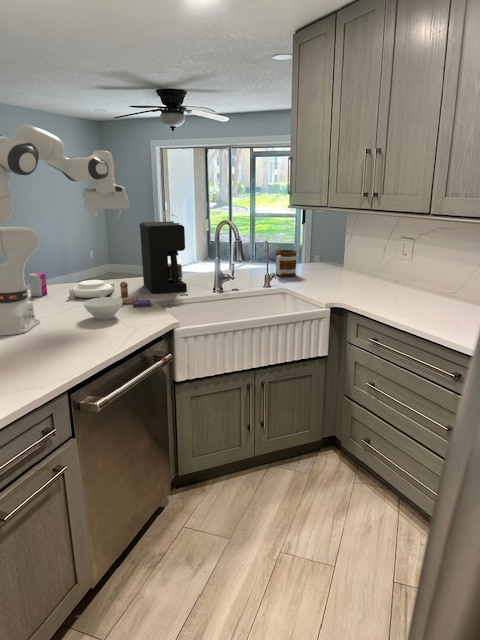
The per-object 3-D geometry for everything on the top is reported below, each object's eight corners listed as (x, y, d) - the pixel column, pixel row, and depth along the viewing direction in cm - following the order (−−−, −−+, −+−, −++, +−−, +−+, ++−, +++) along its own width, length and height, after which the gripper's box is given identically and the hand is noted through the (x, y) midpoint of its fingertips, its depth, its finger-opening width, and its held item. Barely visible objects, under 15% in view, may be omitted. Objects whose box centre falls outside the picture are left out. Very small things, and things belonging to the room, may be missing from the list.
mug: (280, 272, 293) (280, 249, 288) (300, 274, 286) (300, 250, 282) (266, 278, 276) (267, 253, 272) (287, 280, 270) (288, 254, 266)
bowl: (84, 314, 200) (82, 299, 198) (121, 311, 206) (120, 295, 204) (86, 324, 186) (84, 307, 184) (126, 320, 191) (124, 304, 189)
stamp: (130, 300, 220) (128, 282, 217) (119, 301, 219) (117, 282, 216) (130, 298, 224) (129, 280, 222) (119, 299, 223) (118, 280, 221)
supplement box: (41, 297, 230) (38, 275, 227) (30, 297, 231) (27, 274, 228) (48, 294, 236) (45, 272, 232) (37, 294, 237) (35, 272, 234)
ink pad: (151, 306, 213) (150, 303, 213) (133, 307, 211) (133, 304, 211) (150, 302, 220) (150, 299, 220) (133, 303, 219) (133, 300, 218)
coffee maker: (190, 292, 239) (187, 224, 229) (153, 296, 233) (149, 226, 223) (177, 282, 264) (174, 220, 254) (143, 285, 258) (139, 221, 248)
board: (137, 303, 217) (137, 301, 217) (111, 305, 215) (111, 303, 215) (137, 298, 229) (137, 295, 228) (113, 299, 226) (112, 297, 226)
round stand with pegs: (60, 295, 236) (58, 282, 234) (103, 288, 251) (102, 275, 249) (81, 304, 219) (79, 289, 217) (125, 295, 235) (124, 282, 233)
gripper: (81, 188, 204) (84, 219, 208) (128, 188, 208) (130, 219, 212) (82, 188, 210) (85, 218, 214) (128, 187, 214) (130, 218, 218)
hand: (108, 218), depth 213 cm, fingers open, 8 cm apart
